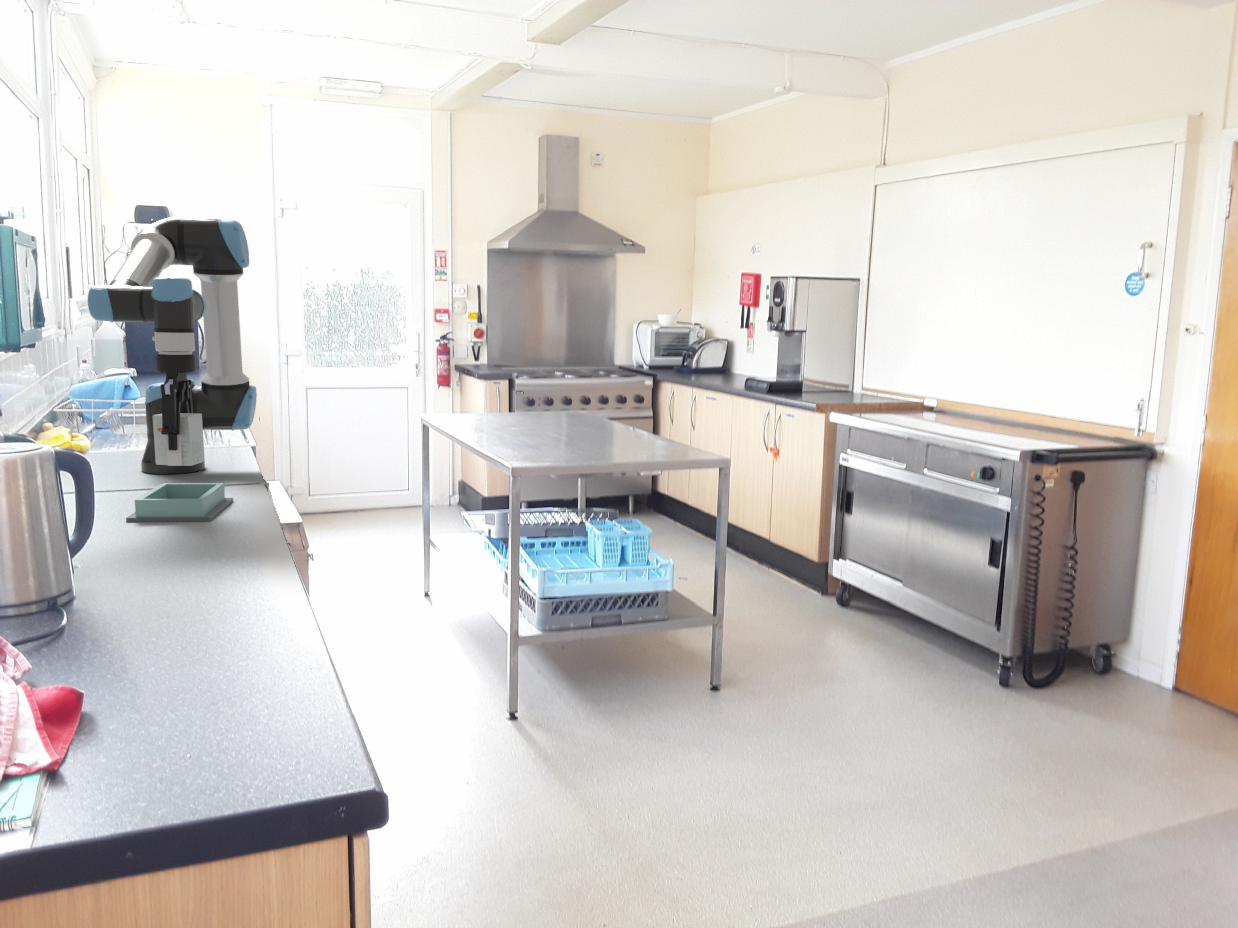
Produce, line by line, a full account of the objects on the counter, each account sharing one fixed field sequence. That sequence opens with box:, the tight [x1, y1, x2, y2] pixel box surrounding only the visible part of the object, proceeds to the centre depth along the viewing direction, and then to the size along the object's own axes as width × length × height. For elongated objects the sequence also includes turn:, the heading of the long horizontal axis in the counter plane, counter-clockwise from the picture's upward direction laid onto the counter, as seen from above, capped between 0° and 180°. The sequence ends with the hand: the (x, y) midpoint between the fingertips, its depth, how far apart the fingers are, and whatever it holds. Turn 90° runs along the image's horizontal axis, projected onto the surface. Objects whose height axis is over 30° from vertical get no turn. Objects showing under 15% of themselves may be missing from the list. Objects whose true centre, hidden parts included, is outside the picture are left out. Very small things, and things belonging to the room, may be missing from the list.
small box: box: [153, 413, 206, 466], centre depth 199 cm, size 8×6×10 cm
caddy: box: [125, 482, 234, 523], centre depth 201 cm, size 20×16×4 cm
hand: (180, 462), depth 200 cm, fingers closed on small box, 6 cm apart
